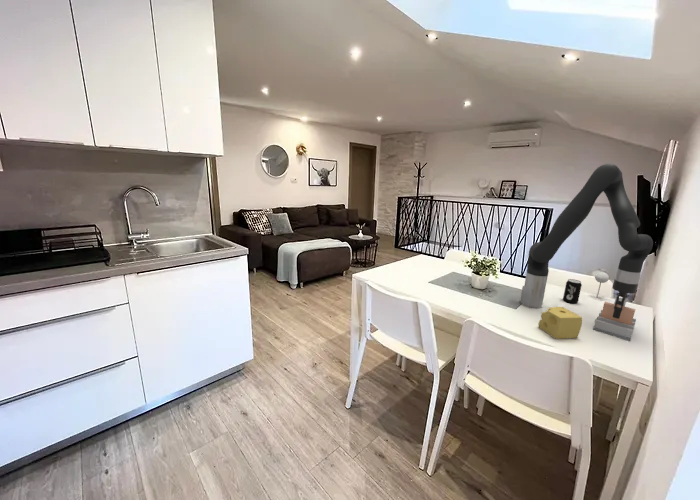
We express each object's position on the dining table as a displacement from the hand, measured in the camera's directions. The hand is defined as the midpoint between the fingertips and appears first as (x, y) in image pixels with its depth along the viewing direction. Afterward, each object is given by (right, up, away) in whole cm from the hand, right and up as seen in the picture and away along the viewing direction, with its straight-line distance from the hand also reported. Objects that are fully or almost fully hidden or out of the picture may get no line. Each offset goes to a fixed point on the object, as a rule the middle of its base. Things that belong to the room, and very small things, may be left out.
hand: (617, 314), depth 126 cm
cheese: (-28, -8, -2) cm, 29 cm away
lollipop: (+21, +2, +35) cm, 41 cm away
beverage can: (+2, 0, +30) cm, 30 cm away
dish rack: (0, -7, +2) cm, 7 cm away
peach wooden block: (0, -6, +1) cm, 6 cm away
